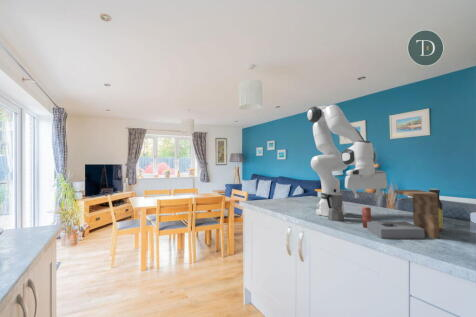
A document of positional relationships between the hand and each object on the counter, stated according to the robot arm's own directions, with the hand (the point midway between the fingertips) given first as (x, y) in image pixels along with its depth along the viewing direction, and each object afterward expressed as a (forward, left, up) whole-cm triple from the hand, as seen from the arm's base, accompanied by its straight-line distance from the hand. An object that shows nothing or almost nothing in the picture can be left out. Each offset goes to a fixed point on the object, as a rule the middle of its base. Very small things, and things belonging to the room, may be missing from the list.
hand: (366, 197), depth 126 cm
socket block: (+12, +7, -15) cm, 20 cm away
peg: (0, 0, -15) cm, 15 cm away
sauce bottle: (+6, +29, -15) cm, 33 cm away
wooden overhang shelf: (+12, +17, -15) cm, 25 cm away
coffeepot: (-17, -11, -16) cm, 26 cm away
